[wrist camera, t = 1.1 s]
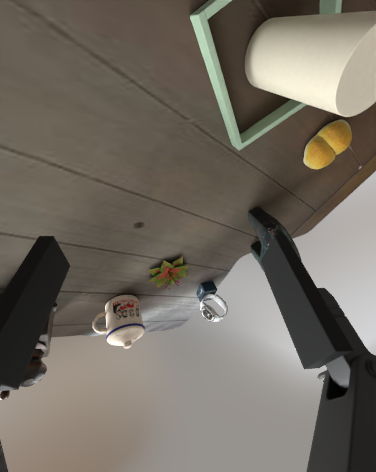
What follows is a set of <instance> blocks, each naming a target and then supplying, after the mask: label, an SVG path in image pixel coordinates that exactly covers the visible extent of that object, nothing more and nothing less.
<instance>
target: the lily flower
mask: <svg viewBox="0 0 376 472" xmlns="http://www.w3.org/2000/svg"><path fill="white" fill-rule="evenodd" d="M182 258H183V257H181V258H180V259H178V260H176V261H174V262H173V263H171V264H170V263H168V262H165V261H164V260H163V263H162V266H161V267H160V268H155V269H151V270H148V271H149V272H151V274H152V275H153V276H155V277H154V278H152V279H150V280H149V281H151V282H155V283H157V287H159V286H161V285H164V284H166V283H167V284H168V285H169V284H170V285H171V284H172V283H173V284H174V283H175V282H177V280H178V278H183V277H185V276H188V275H187V274H186V272H185V271H186V270H187V268H188V266H189V265H186V266H182V264H183V259H182ZM178 283H180V282H179V281H178ZM168 285H167V286H168ZM177 285H178V284H177ZM178 286H179V285H178ZM165 288H166V287H165ZM169 289H170V288H169Z"/></svg>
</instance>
